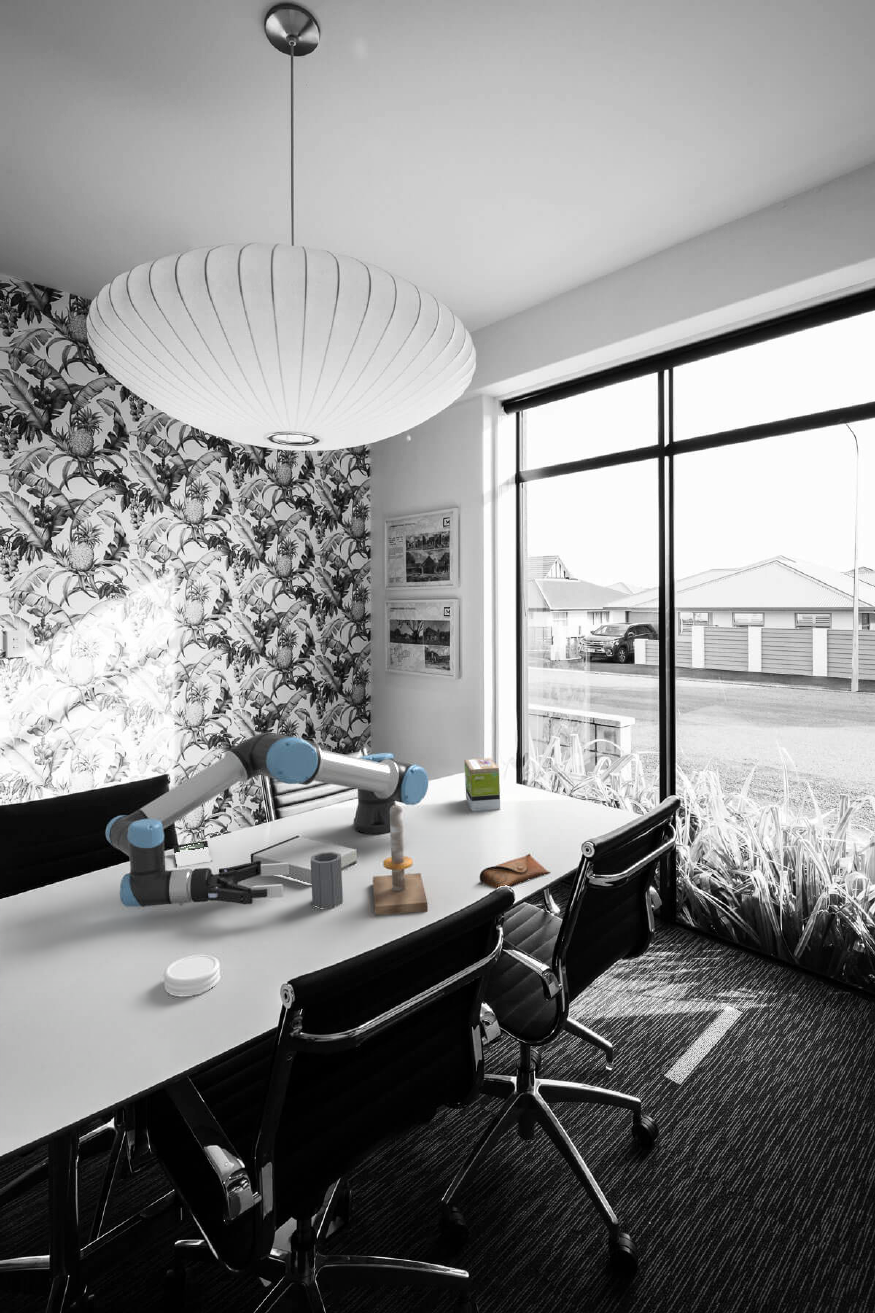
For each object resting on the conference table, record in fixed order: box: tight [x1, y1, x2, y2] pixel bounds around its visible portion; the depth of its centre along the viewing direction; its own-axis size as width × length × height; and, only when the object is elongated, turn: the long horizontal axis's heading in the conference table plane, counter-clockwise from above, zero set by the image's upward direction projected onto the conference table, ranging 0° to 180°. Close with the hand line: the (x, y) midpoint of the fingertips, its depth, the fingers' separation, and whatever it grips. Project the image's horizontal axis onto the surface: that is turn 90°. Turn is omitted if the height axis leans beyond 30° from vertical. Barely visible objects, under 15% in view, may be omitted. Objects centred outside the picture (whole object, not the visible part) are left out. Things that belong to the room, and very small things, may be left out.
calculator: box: [172, 840, 209, 854], centre depth 204 cm, size 9×12×3 cm
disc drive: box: [250, 835, 358, 884], centre depth 194 cm, size 18×22×5 cm
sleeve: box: [311, 852, 344, 909], centre depth 170 cm, size 7×7×11 cm
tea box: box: [464, 757, 501, 812], centre depth 248 cm, size 15×10×15 cm, turn 6°
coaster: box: [163, 954, 221, 995], centre depth 135 cm, size 10×10×4 cm
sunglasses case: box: [479, 853, 551, 889], centre depth 183 cm, size 18×7×7 cm, turn 129°
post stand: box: [372, 804, 429, 916], centre depth 171 cm, size 12×18×22 cm, turn 6°
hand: (285, 879), depth 169 cm, fingers open, 13 cm apart
